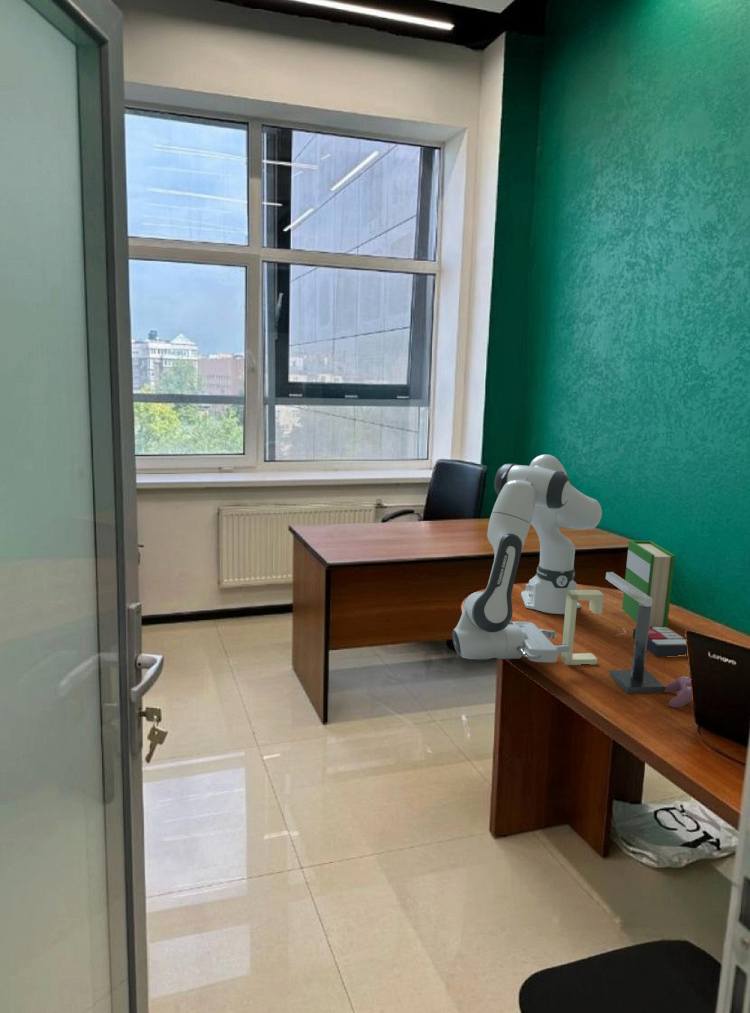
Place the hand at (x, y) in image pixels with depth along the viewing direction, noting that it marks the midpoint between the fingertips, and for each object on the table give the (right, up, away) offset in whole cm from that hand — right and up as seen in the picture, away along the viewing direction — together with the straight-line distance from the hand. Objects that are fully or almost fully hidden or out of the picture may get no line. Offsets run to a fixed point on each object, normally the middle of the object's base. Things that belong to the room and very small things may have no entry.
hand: (561, 641), depth 191 cm
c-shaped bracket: (+5, -6, +2) cm, 8 cm away
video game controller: (+24, -11, -19) cm, 32 cm away
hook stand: (+16, -7, -3) cm, 17 cm away
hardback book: (+36, 0, +36) cm, 51 cm away
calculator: (+33, -5, +15) cm, 37 cm away
